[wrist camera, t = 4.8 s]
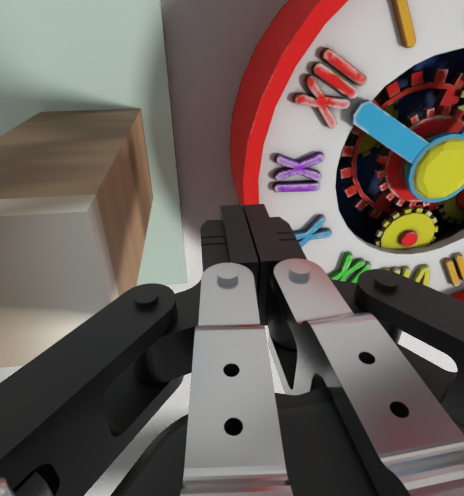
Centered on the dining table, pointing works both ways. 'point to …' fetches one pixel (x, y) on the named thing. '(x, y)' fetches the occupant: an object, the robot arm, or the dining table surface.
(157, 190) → the mat
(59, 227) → the wooden block
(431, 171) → the toy clock
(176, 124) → the dining table surface
